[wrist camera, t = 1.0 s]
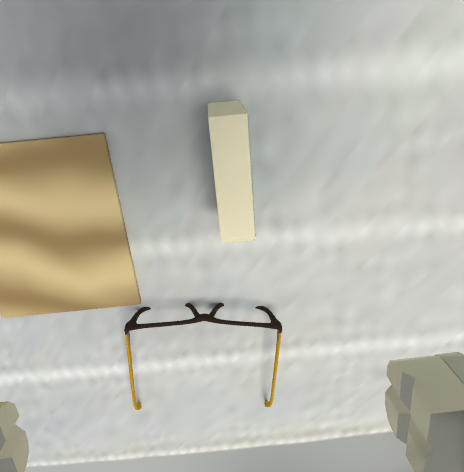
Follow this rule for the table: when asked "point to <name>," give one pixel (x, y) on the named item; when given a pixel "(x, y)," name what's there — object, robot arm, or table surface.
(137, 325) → the eyeglasses
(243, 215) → the card box
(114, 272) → the mat
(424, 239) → the table surface
